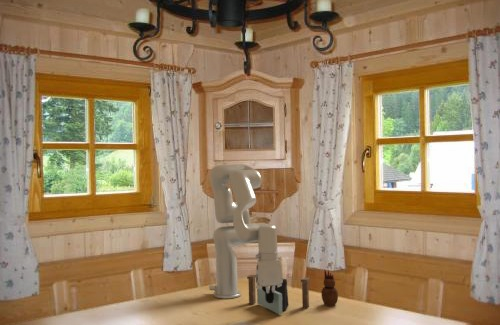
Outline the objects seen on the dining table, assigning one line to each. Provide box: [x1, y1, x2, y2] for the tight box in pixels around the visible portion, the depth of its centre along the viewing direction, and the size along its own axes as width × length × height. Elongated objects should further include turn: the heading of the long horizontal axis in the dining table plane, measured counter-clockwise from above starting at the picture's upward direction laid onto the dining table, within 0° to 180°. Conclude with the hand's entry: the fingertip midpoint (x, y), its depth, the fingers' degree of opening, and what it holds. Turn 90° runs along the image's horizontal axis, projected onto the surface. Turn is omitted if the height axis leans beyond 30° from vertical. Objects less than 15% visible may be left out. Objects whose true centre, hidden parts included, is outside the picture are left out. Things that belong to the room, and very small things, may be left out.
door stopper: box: [275, 278, 289, 312], centre depth 217 cm, size 9×6×12 cm, turn 167°
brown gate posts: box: [246, 274, 310, 309], centre depth 220 cm, size 26×4×12 cm, turn 71°
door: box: [256, 288, 283, 315], centre depth 215 cm, size 18×3×8 cm, turn 27°
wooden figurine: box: [321, 269, 339, 307], centre depth 219 cm, size 7×6×15 cm
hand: (269, 302), depth 207 cm, fingers closed
